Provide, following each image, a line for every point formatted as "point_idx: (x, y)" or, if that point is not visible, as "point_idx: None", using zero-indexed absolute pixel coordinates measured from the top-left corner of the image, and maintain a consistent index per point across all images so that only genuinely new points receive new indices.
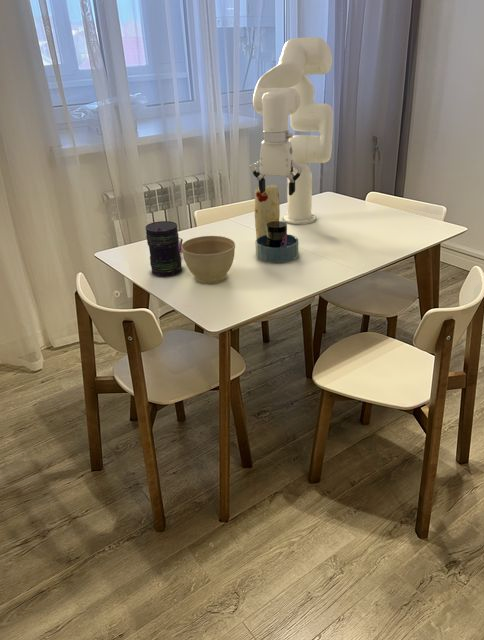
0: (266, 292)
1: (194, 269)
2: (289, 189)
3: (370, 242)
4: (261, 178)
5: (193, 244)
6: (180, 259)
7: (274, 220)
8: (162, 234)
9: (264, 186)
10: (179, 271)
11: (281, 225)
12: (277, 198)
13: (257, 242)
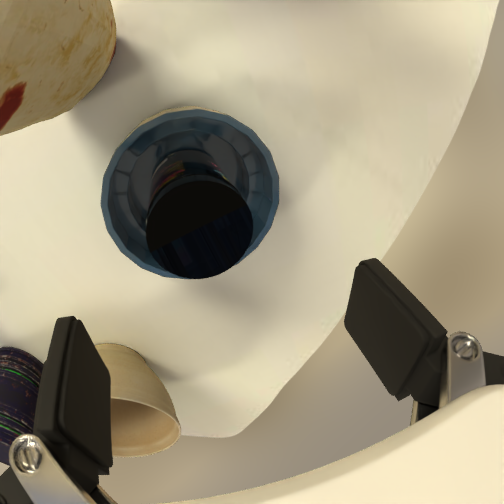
0: (257, 362)
1: (120, 423)
2: (370, 357)
3: (417, 5)
4: (107, 494)
5: None
6: (30, 378)
7: (102, 55)
8: None
9: (83, 375)
10: None
11: (231, 239)
12: None
13: (131, 253)
